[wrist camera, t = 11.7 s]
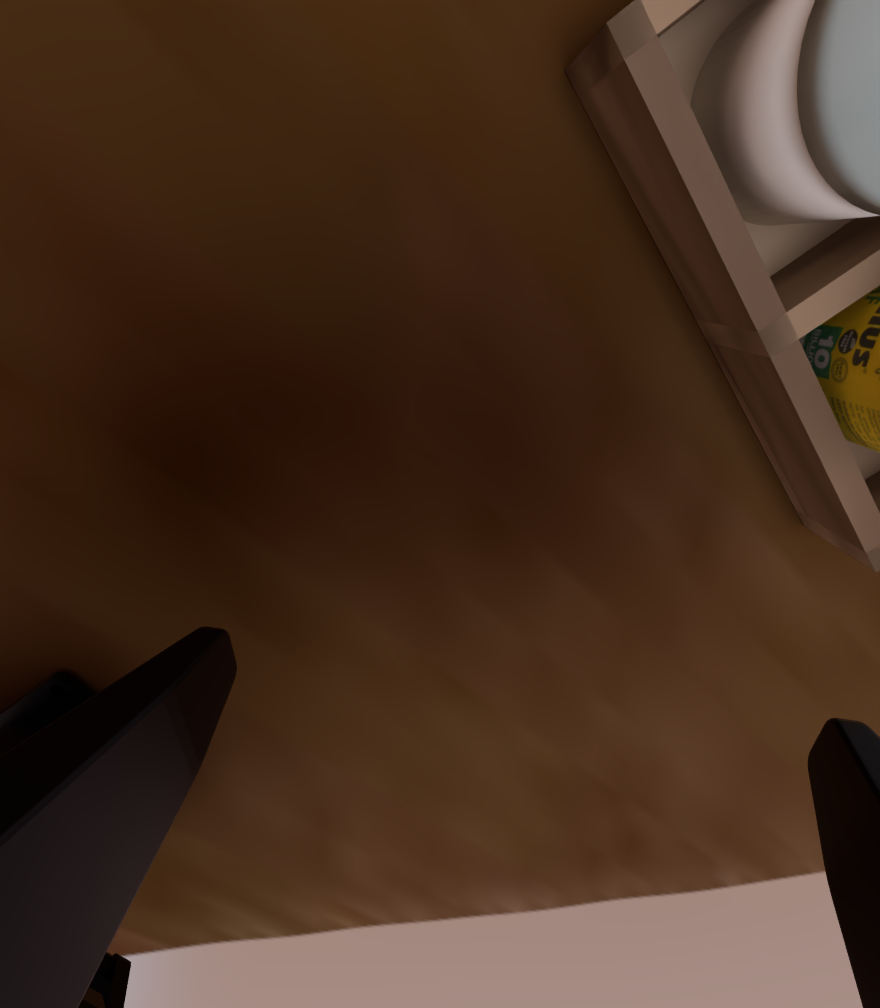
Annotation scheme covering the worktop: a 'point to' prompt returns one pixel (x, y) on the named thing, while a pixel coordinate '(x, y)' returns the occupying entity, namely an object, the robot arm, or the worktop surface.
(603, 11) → the worktop surface
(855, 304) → the supplement bottle
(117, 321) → the worktop surface
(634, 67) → the crate
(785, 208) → the jar
